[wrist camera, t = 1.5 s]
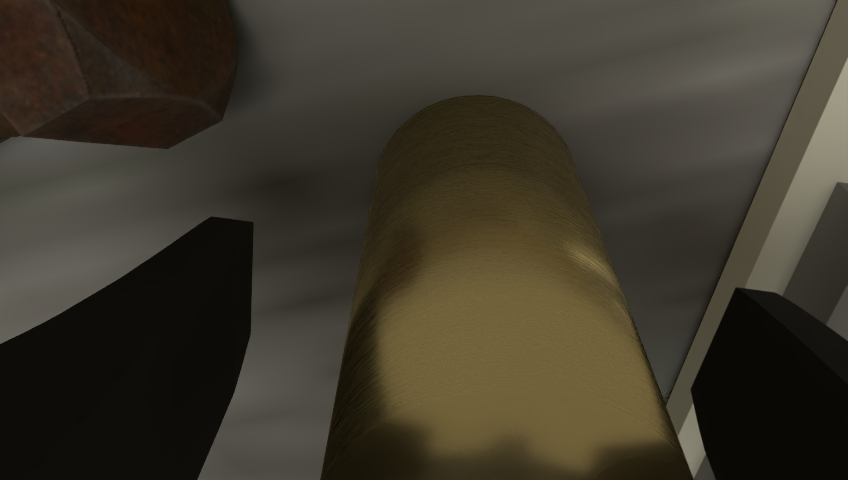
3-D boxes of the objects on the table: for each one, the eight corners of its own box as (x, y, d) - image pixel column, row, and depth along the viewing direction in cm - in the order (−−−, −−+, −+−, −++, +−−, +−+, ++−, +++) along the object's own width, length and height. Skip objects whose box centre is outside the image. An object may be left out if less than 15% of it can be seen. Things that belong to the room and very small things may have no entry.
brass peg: (549, 286, 16) (635, 660, 9) (365, 262, 15) (302, 626, 8) (598, 112, 14) (761, 419, 7) (387, 80, 13) (329, 364, 6)
